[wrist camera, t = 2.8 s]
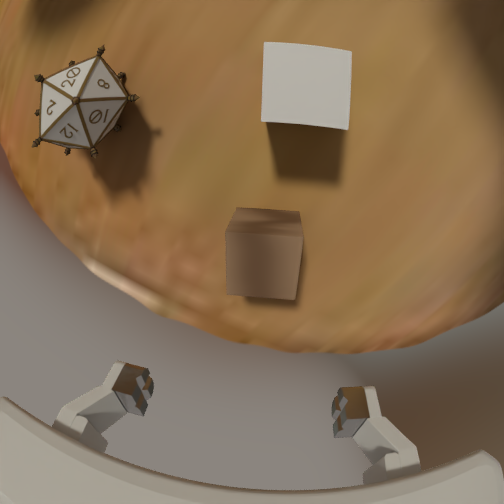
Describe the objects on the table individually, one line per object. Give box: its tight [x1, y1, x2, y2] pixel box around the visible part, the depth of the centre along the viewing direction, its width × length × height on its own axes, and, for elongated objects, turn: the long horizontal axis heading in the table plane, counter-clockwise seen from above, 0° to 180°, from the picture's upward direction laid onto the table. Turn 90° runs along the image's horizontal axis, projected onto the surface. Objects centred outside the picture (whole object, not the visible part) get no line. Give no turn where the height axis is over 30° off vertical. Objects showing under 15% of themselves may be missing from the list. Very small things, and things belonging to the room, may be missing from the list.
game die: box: [32, 45, 140, 159], centre depth 15 cm, size 9×8×10 cm
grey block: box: [261, 42, 352, 130], centre depth 15 cm, size 5×5×5 cm
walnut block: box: [225, 207, 304, 300], centre depth 21 cm, size 5×5×5 cm
